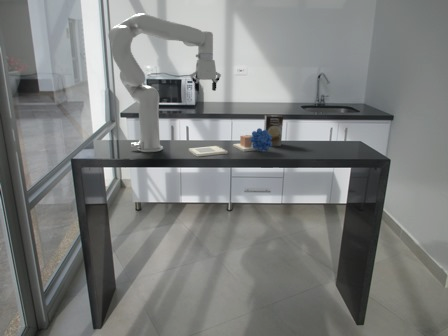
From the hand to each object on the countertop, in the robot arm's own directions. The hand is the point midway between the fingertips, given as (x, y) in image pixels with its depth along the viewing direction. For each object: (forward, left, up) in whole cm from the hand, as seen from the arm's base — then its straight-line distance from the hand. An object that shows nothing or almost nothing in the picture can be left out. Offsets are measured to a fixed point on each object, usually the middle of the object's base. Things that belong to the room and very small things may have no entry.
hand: (205, 90), depth 189 cm
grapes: (+18, -30, -28) cm, 45 cm away
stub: (+14, -20, -28) cm, 37 cm away
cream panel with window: (-7, -20, -28) cm, 35 cm away
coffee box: (+32, -18, -28) cm, 46 cm away
